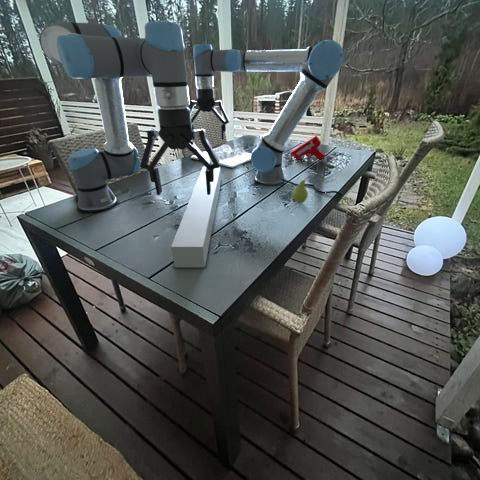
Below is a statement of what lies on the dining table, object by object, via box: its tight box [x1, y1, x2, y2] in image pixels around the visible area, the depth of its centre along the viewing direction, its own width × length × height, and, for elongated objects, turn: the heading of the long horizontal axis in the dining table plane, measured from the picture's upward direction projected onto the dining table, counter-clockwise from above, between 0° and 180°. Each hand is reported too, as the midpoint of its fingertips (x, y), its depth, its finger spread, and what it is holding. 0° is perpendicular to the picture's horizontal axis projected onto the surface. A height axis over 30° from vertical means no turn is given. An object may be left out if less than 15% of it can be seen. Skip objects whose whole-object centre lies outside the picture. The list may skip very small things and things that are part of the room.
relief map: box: [190, 143, 252, 169], centre depth 179 cm, size 27×35×5 cm
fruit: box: [291, 174, 311, 204], centre depth 118 cm, size 7×8×12 cm
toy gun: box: [290, 135, 326, 163], centre depth 173 cm, size 18×4×15 cm
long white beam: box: [170, 166, 222, 268], centre depth 112 cm, size 74×9×8 cm, turn 179°
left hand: (184, 193), depth 74 cm, fingers open, 13 cm apart
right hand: (208, 139), depth 129 cm, fingers open, 13 cm apart
